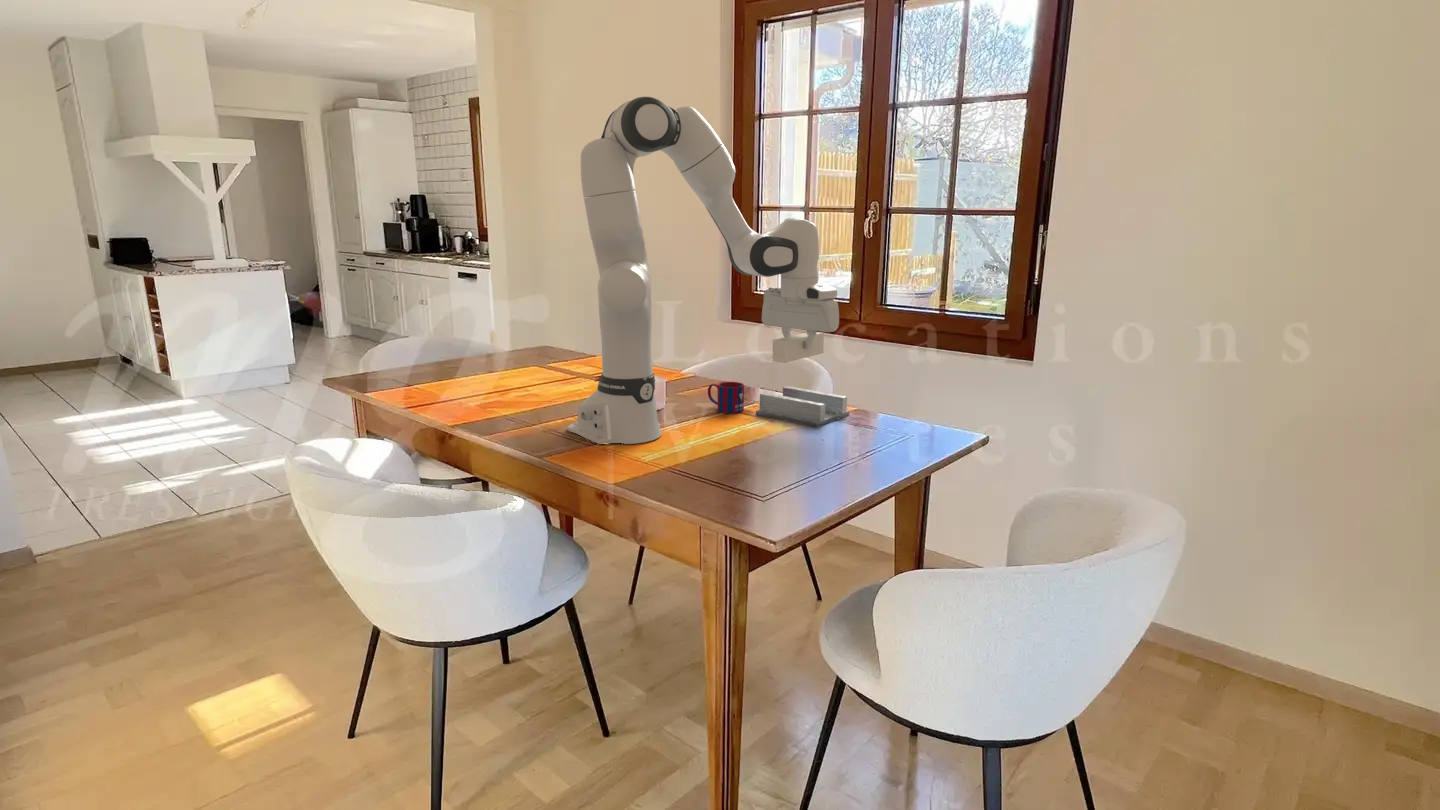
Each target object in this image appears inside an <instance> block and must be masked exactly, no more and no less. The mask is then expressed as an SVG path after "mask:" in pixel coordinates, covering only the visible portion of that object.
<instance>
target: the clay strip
mask: <svg viewBox="0 0 1440 810" xmlns="http://www.w3.org/2000/svg"><path fill="white" fill-rule="evenodd" d="M824 333H825V332H821V331H816V335H815V337H814V339H813V341H812V348H811V349H804V348H803V341H806V339H807V337H808V335H807V332H803V333H799V334H795V335H791V336H789V337H780V338H776V339H772V362H776V363H782V364H786V363H791V362H794V361H797V360H798V361H799V360H801V359H805V358H809V357H813V356H817V355H821V354H824V346H825V345H824V344H825V343H824V336H825V335H824Z"/></svg>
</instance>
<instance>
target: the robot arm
mask: <svg viewBox="0 0 1440 810" xmlns="http://www.w3.org/2000/svg"><path fill="white" fill-rule="evenodd" d="M657 151H660V152H663V153H665V154H666V155H667V156H668V157H669V158H670V159H671V160H672V161H673V163H674V165H675V166H676V168H677V169H678V172H679V173H680V174H681V176H682V177H683V178H684V181H685V182H686V183H687V185H689V187H690V189H692V191H693V192H694V194H696V196H697V197H698V198H699V199H700V201H701V202H702V204H703V205H704V206H705V208H706V210H707V212H708V214H709V216H710V217H711V219H712V220H713V222H714V224H715V225H716V227H717V229H718V230H719V232H720V234H721V235H722V237H723V238H724V241H725V243H726V246H727V253H728V258H729V261H730V263H731V265H732V266H733V268H734V270H736V271H737V272H738V273H740V274H742V275H744V276H757V277H764V278H771V277H775V276H777V275H780V287H768V288H766V289H765V291H764V292H763V303H762V310H761V322H762V324H763V326H767V327H776V328H781V333H782V335H783V338H785V337H789V336H792V334H791V332H792V330H793V329H795V330H801V331H802V330H803V331H806V333H807V335H808V337H807V339H806V341H803V348H804V349H811V348H812V341H813V339H814V337H815V335H816V332H820V333H832V332H835V331H837V329H838V328H839V325H840V310H839V308H840V307H839V304H838V301H837V300H836V299H835V298H837V296H838V290H837V289H836V288H835V287H834V286H830V285H828V284H826V283H824V282H822V281H820V280H819V277H820V276H819V272H818V262H819V258H820V242H819V232H818V228H817V225H816V224H815V223H814V222H812V221H810V220H806V219H802V218H795V217H789V218H785V219H784V220H783V221H782V222H781V223H780V224H779V225H776V226H775V227H773V228H772V229H770V230H767V231H765V232H763V233H759V232H756V231H755V230H753V229H752V228H751V227H750V226H749V225H748V223H747V222H746V220H745V218H744V216H743V214H742V213H741V210H740V209H739V208H738V205H737V204H736V202H735V200H734V197H733V195H732V189H733V188H732V187H733V184H734V181H735V178H736V167H735V164H734V162H733V159H732V157H731V155H730V153H729V152H728V150H727V148H726V147H725V145H724V143H723V142H722V140H721V139H720V137H719V136H718V134H717V133H716V131H715V130H714V128H713V127H712V126H711V125H710V123H709V122H708V121H707V120H706V119H705V118H704V117H703V116H702V115H701V113H700V112H699V111H698V110H696V109H695V108H694V107H691V106H680V107H677V108H673V107H671V106H669V105H667V104H665V103H664V102H663V101H661V100H659V99H658V98H654V97H651V96H639V97H635V98H634V99H632V100H628V101H626V102H624V103H622V104H621V105H620V106H619V107H617V108H616V109H614V110H613V111H612V113H610V115H609V116H608V118H607V120H606V122H605V126H604V129H603V131H602V135H601V137H600V138H597V139H594V140H592V141H590V142H588V143H587V144H585V145H584V146H583V148H582V150H581V153H580V179H581V189H582V196H583V201H584V207H585V213H586V218H587V219H586V220H587V223H588V230H589V235H590V238H591V243H592V246H593V251H594V255H595V259H596V265H597V268H598V273H599V279H598V283H597V296H598V297H597V298H598V299H597V300H598V314H599V326H600V327H599V328H600V336H601V337H600V338H601V339H600V340H601V363H602V365H601V366H602V369H601V370H602V373H601V375H597V376H594V377H593V378H595V380H594V382H598V384H597V388H596V389H597V390H596V391H594V392H593V393H592V394H591V395H590V396H589V397H588V398H585V400H584V401H582V402H581V403H580V404H579V406H578V409H577V421H576V422H573V423H570V424H569V425H568V426H567V428H566V430H567V429H568V430H570V431H572V432H574V433H577V434H579V435H581V436H583V437H585V438H587V439H590V440H592V441H594V442H596V443H600V444H603V443H622V444H621V445H632V444H641V443H648V442H652V441H654V440H657V439H658V438H660V437H661V436H662V432H661V423H659V418H658V410H657V404H656V396H655V394H654V392H655V389H656V377H655V374H654V372H653V371H654V370H653V365H654V364H653V329H652V327H653V325H652V324H653V323H652V277H651V272H650V271H651V270H650V266H649V265H650V264H649V260H648V254H647V248H646V242H645V238H644V231H643V226H642V225H643V224H642V219H641V214H640V207H639V206H640V205H639V201H638V195H637V191H636V190H637V189H636V184H635V178H634V166H635V163H636V160H637V159H638V158H639V157H646V156H648V155H651V154H653V153H655V152H657ZM596 378H597V379H596ZM587 439H586V440H587ZM623 443H624V444H623Z"/></svg>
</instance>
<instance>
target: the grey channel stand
mask: <svg viewBox="0 0 1440 810" xmlns="http://www.w3.org/2000/svg"><path fill="white" fill-rule="evenodd" d="M847 403H848V396H846V395H839V394H835V393H829V392H823V391H817V390H813V389H806V388H800V387H797V386H796V387H795V386H789V385H786V386H784V387H782V395H780V394H773V393H770V392H762V393H759V408H758V409H756V410H755V415H758V416H761V417H765V418H766V417H767V418H771V419H775V420H780V421H785V422H789V423H790V422H791V423H793V424H794V423H796V424H799V425H805V426H808V425H810V426H809V427H813V426H815V427H814V428H817V426H818V427H820V425H821V426H824V425H826V424H829V423H831V421H832V422H834V421H837V420H839V419H838V418H840V419H842V418H841V417H843V418H845V417H848V416H850V413H851V412H850V410H847V409H848V408H847V407H848V404H847ZM847 415H848V416H847ZM844 416H845V417H844ZM836 419H837V420H836ZM833 420H834V421H833ZM823 424H824V425H823Z"/></svg>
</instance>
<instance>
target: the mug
mask: <svg viewBox="0 0 1440 810" xmlns="http://www.w3.org/2000/svg"><path fill="white" fill-rule="evenodd" d="M713 386H714V387H715V388H716V389H717V401H716V400H715V399H714V398H713V395H712V393H711V392H712V387H713ZM707 396H708V398H709V400H710V401H711V402H712V403H713V404H714V405H716V406H717V411H718V412H719V413H721V414H730V415H731V414H732V415H734V414H741V413H743V412H744V410H745V384H744V383H742V382H738V381H724V382H723V381H722V382H719V383H717V384H716V383H711V384H709V386H708V388H707Z"/></svg>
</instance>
